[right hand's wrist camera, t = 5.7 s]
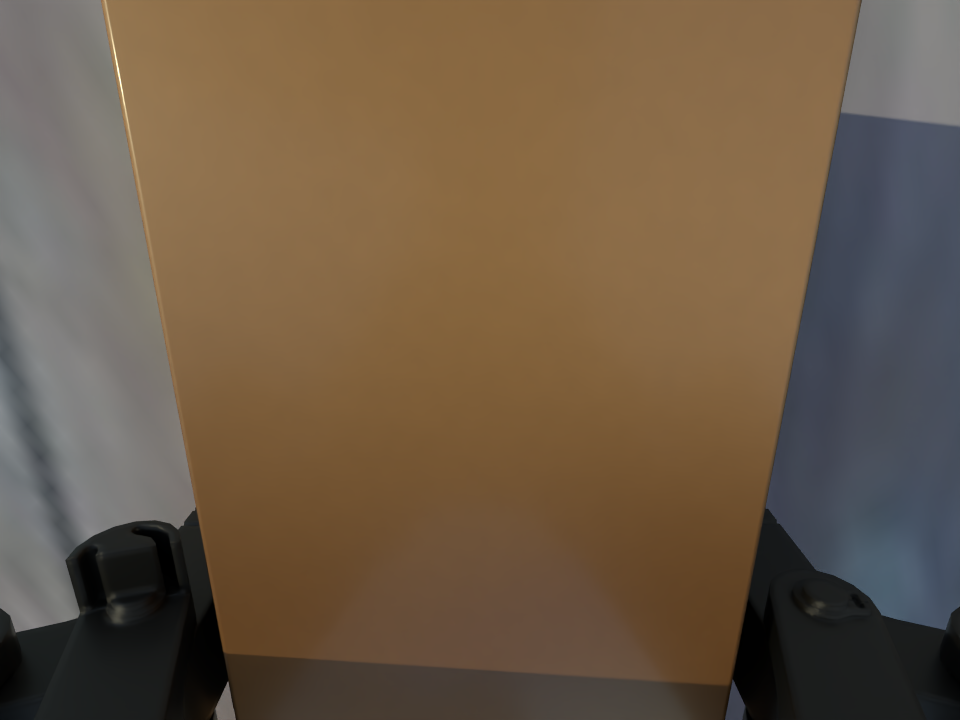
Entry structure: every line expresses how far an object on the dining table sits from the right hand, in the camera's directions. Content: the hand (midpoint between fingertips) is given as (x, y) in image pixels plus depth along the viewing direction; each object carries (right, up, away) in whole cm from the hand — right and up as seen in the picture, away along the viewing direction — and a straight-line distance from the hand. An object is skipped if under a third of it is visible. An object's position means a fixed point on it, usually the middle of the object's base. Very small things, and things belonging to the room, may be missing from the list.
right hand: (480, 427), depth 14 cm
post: (0, -16, +7) cm, 18 cm away
